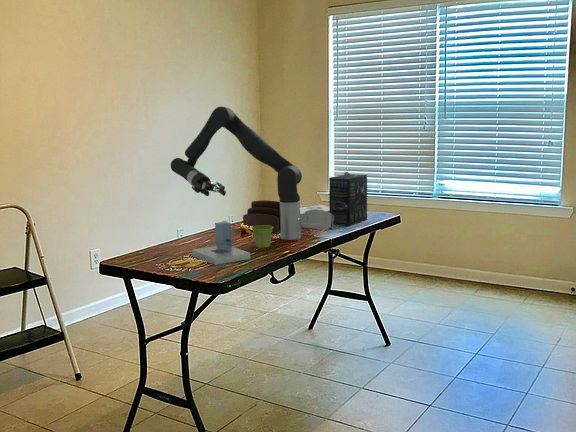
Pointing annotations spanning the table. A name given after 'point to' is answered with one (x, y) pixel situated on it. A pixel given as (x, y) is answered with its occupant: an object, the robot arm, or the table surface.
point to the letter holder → (263, 214)
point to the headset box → (348, 198)
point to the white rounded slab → (304, 209)
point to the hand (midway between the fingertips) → (216, 194)
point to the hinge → (317, 219)
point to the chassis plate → (220, 254)
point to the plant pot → (262, 235)
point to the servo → (223, 233)
